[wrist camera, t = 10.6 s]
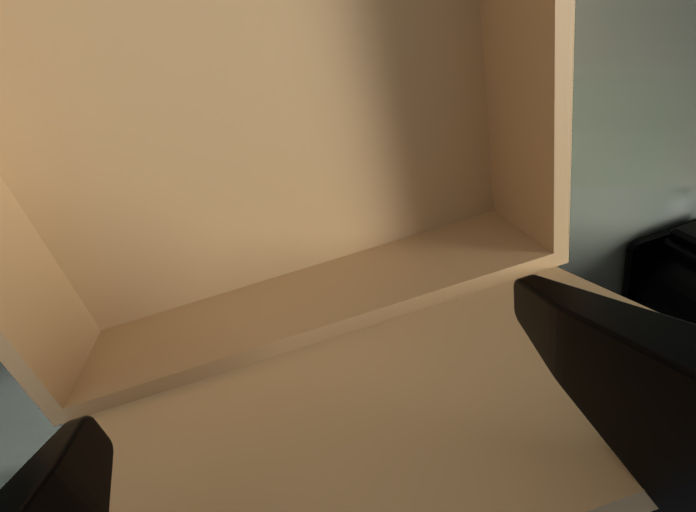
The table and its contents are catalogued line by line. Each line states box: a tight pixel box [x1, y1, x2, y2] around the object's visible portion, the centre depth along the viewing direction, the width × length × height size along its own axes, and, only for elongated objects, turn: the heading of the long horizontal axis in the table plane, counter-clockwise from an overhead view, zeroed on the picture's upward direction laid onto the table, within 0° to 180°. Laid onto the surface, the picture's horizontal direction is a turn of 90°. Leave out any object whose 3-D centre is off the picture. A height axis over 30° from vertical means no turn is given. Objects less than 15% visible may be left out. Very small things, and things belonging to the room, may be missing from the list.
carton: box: [0, 0, 575, 426], centre depth 13 cm, size 19×19×5 cm
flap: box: [89, 267, 659, 512], centre depth 11 cm, size 9×18×1 cm
